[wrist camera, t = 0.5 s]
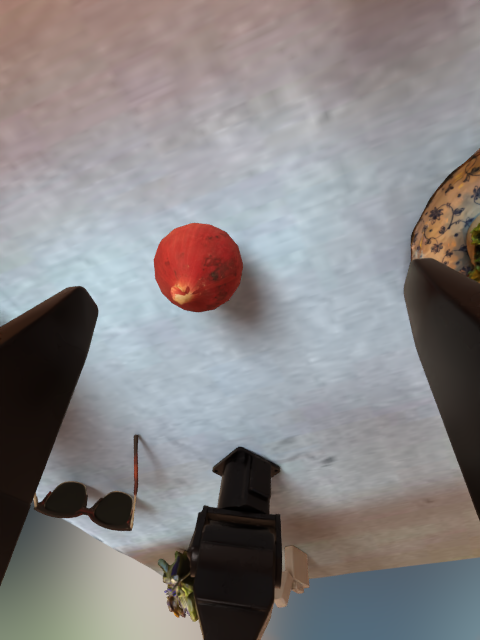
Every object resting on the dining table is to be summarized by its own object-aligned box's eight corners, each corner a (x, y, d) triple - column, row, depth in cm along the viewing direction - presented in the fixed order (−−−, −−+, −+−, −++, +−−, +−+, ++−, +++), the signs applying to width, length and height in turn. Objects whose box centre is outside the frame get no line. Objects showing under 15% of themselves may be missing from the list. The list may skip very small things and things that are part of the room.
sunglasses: (54, 478, 46) (31, 512, 41) (44, 404, 38) (15, 437, 33) (143, 498, 46) (130, 534, 42) (152, 429, 38) (137, 465, 34)
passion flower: (195, 519, 60) (142, 570, 51) (223, 512, 53) (167, 570, 44) (225, 575, 58) (175, 639, 49) (258, 576, 51) (207, 650, 42)
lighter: (307, 554, 51) (312, 619, 44) (299, 556, 52) (302, 620, 45) (280, 538, 49) (281, 603, 42) (272, 540, 49) (271, 605, 43)
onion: (234, 201, 21) (214, 235, 15) (255, 274, 24) (246, 331, 17) (160, 222, 23) (112, 263, 16) (188, 289, 26) (157, 347, 19)
